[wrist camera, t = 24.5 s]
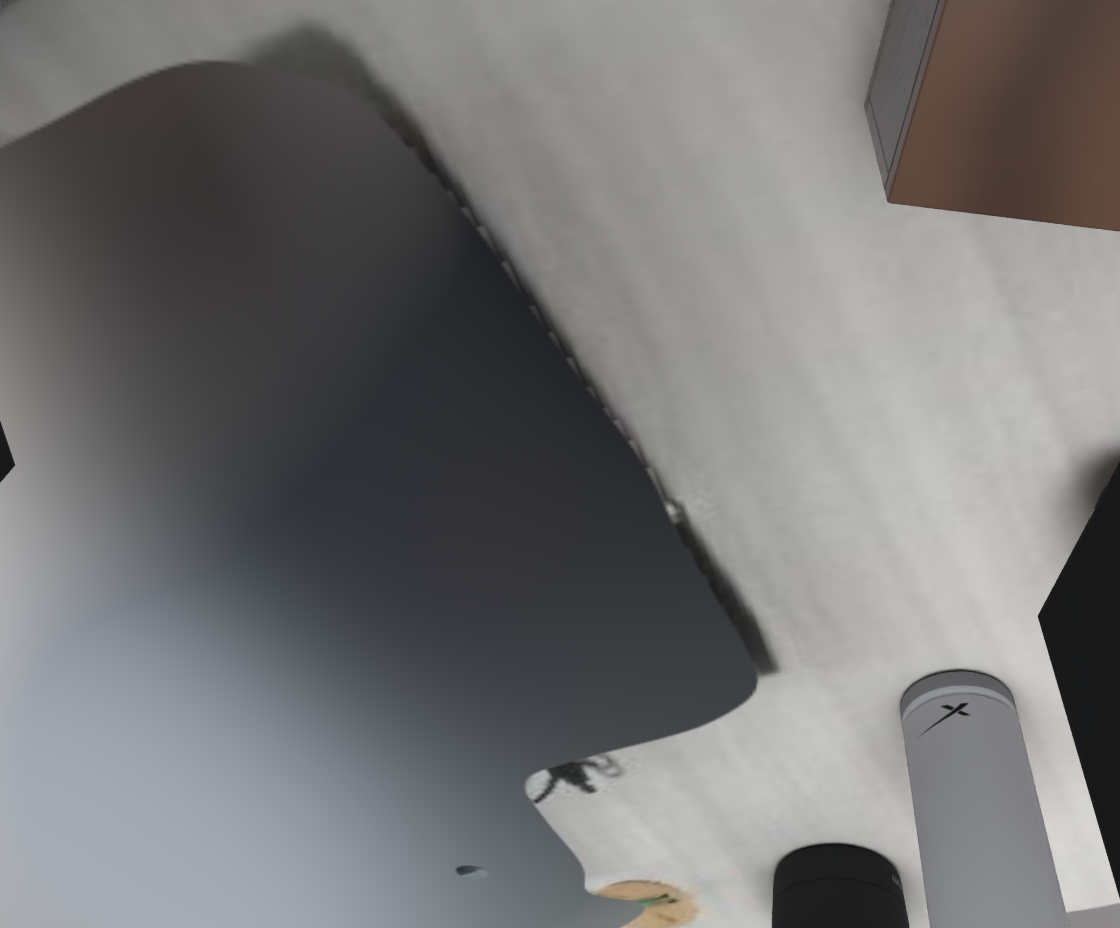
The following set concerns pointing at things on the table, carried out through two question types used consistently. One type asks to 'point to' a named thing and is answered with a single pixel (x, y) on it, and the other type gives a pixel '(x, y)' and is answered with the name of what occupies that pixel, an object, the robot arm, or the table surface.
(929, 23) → the chest
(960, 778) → the travel mug
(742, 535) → the table surface
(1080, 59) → the chest lid
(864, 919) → the black portable speaker
